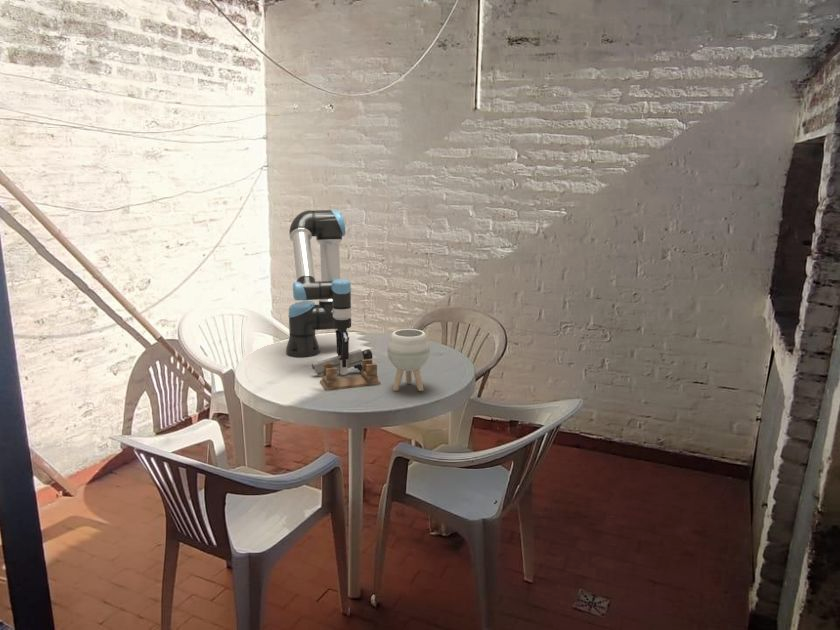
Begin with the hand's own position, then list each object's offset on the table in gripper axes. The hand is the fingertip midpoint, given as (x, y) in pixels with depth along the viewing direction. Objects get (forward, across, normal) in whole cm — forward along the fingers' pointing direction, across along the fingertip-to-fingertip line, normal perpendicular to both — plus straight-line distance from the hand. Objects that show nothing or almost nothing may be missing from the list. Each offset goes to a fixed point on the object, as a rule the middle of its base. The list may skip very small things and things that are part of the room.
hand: (342, 372), depth 264 cm
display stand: (+1, +12, 0) cm, 12 cm away
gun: (+1, 0, 0) cm, 1 cm away
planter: (+1, +25, +20) cm, 32 cm away
